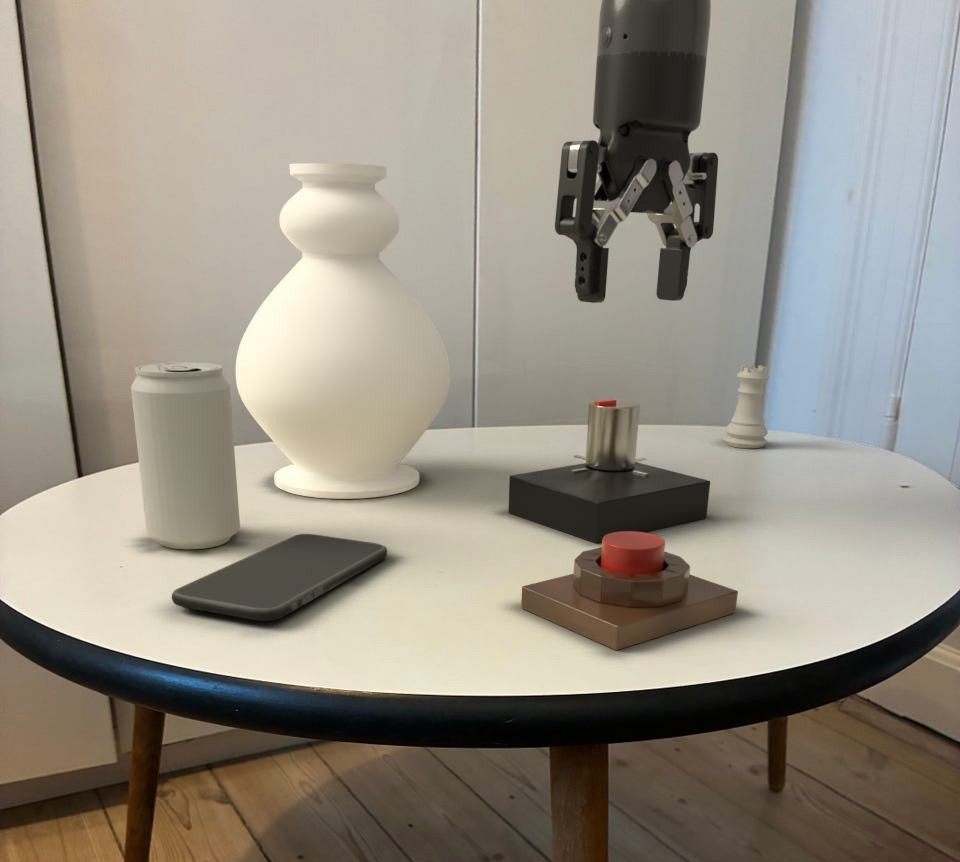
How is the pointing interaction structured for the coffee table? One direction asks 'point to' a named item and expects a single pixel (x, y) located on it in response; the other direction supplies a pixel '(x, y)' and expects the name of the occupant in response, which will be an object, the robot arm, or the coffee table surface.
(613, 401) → the hob knob
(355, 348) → the decorative vase
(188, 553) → the coffee table surface
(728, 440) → the rook chess piece
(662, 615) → the button block
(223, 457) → the beverage can
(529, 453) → the coffee table surface
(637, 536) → the button
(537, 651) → the coffee table surface
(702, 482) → the black flat square block
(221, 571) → the smartphone
